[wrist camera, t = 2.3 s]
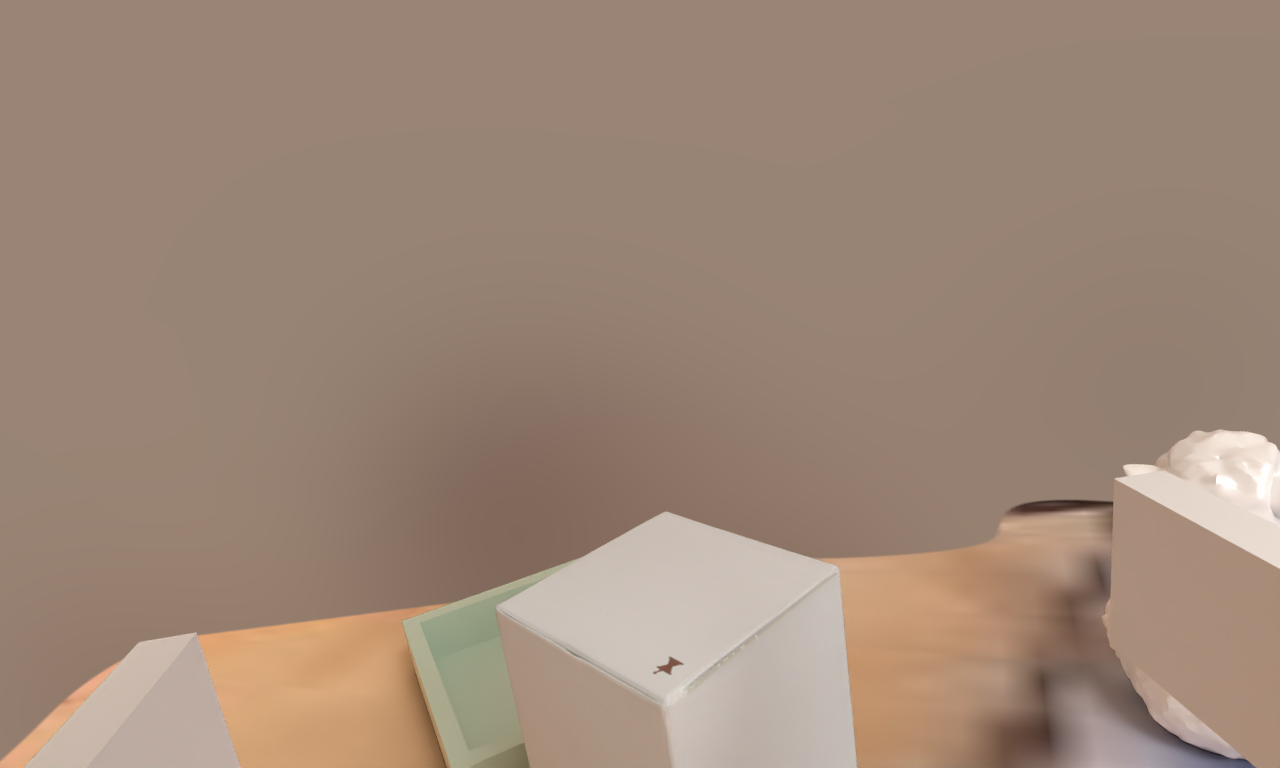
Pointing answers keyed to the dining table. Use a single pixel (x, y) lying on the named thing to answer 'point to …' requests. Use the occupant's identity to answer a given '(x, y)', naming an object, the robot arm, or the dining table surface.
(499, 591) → the green tray
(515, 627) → the supplement box
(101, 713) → the robot arm
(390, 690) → the dining table surface
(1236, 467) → the white creature statuette
